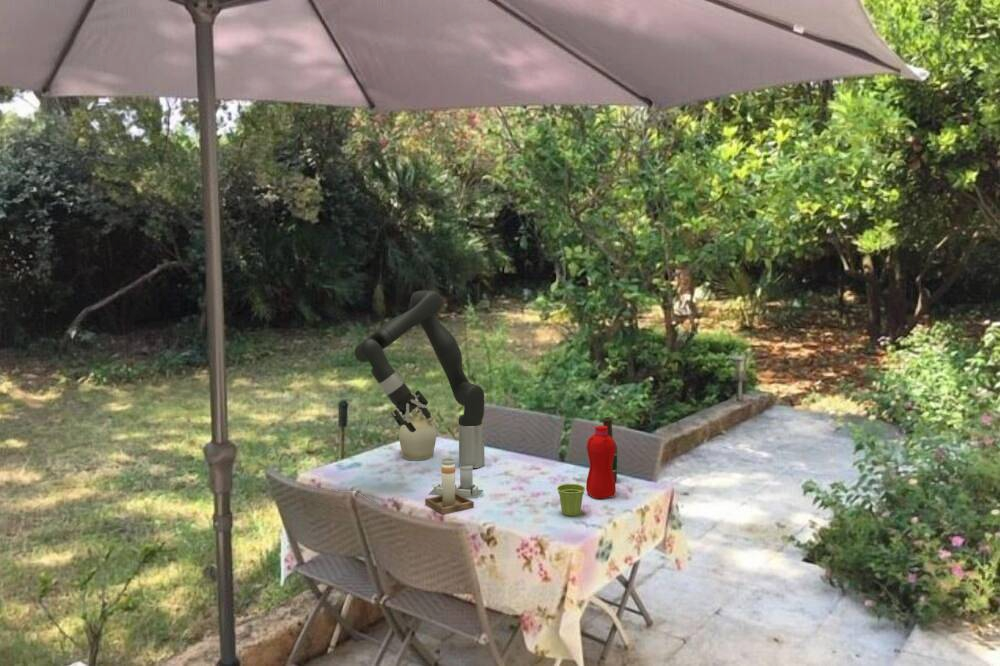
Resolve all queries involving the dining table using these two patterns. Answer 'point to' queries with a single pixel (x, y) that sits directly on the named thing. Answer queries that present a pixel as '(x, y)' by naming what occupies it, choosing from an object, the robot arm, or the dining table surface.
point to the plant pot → (571, 498)
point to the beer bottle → (608, 422)
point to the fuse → (466, 477)
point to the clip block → (458, 491)
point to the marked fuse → (448, 482)
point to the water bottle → (601, 464)
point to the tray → (460, 505)
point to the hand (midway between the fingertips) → (421, 424)
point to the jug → (418, 437)
